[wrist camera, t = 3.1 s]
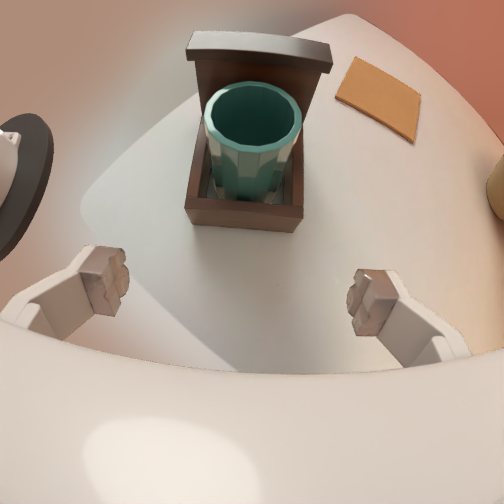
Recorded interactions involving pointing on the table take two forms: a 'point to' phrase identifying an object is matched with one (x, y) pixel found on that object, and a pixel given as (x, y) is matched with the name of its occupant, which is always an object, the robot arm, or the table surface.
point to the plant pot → (496, 189)
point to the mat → (381, 97)
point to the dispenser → (258, 70)
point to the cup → (250, 139)
